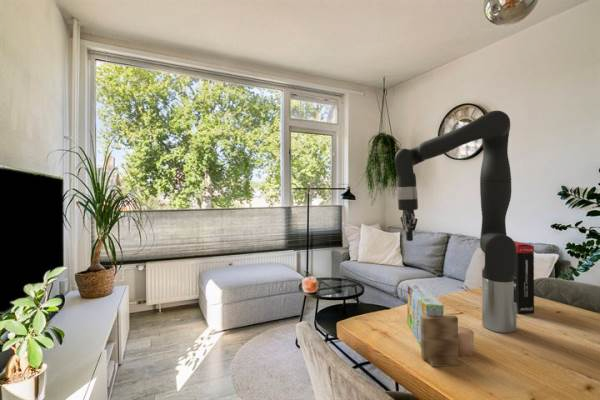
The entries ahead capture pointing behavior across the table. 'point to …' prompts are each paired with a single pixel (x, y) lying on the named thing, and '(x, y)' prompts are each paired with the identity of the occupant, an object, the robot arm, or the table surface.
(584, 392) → the table surface
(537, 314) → the table surface
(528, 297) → the graphics card box
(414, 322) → the snack box
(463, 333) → the pinkish-brown rounded piece
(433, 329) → the walnut bookend
